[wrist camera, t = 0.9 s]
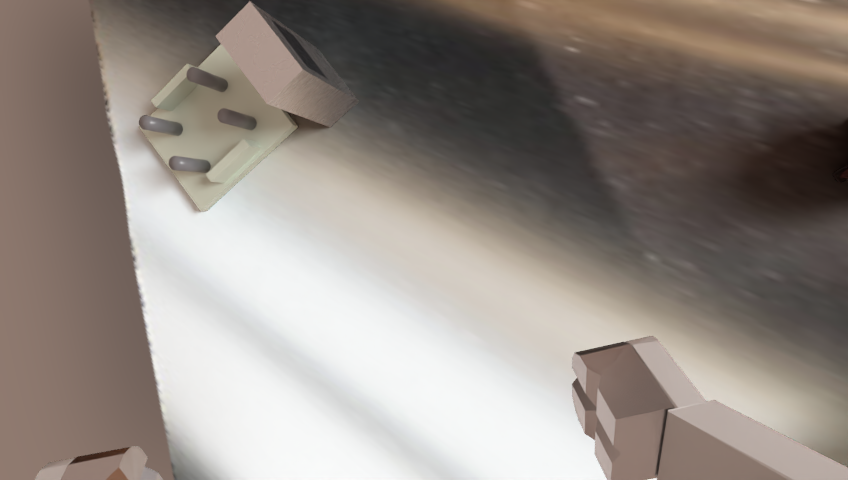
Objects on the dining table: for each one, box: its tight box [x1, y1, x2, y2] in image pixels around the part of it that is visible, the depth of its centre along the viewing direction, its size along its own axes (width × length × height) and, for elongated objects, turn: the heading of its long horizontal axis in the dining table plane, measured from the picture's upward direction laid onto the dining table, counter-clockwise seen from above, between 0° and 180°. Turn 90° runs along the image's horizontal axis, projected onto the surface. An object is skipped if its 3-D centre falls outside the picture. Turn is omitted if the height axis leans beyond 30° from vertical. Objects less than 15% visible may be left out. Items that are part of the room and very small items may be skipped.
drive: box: [216, 1, 359, 127], centre depth 40 cm, size 3×6×11 cm, turn 38°
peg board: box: [139, 44, 298, 211], centre depth 46 cm, size 12×10×5 cm
